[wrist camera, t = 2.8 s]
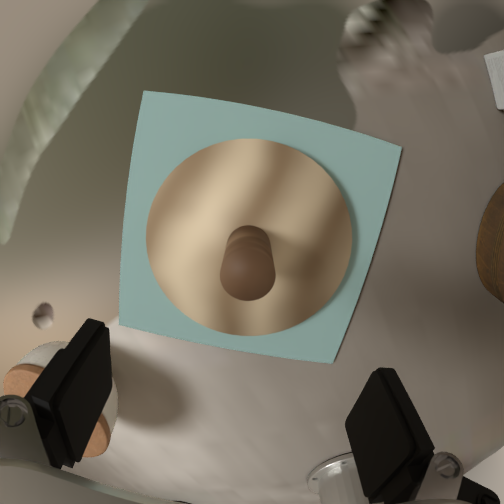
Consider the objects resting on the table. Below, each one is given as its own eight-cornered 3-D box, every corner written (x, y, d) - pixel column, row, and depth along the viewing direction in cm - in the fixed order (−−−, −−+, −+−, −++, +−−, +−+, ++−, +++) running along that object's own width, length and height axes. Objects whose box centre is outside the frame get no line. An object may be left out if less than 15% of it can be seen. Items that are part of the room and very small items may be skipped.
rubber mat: (399, 146, 25) (401, 147, 24) (331, 361, 32) (332, 363, 31) (145, 91, 23) (143, 90, 23) (120, 322, 30) (119, 324, 30)
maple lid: (369, 166, 25) (408, 175, 18) (317, 340, 30) (332, 390, 24) (165, 123, 24) (135, 117, 17) (143, 309, 29) (118, 353, 22)
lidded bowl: (28, 318, 30) (-25, 371, 20) (117, 325, 30) (72, 396, 20) (60, 397, 35) (26, 454, 24) (143, 410, 34) (119, 480, 24)
